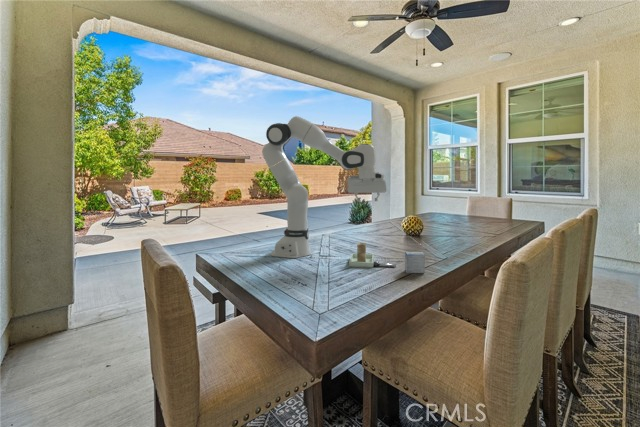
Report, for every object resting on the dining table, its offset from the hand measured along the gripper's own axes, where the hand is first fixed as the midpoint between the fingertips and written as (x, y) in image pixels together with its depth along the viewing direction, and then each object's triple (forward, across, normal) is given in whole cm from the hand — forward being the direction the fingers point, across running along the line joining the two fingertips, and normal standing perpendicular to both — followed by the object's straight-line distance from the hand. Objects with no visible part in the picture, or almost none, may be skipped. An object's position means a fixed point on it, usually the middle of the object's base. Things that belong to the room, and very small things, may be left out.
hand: (367, 201), depth 163 cm
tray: (+29, -2, -16) cm, 33 cm away
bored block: (+28, -2, -16) cm, 33 cm away
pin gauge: (+29, +9, -21) cm, 37 cm away
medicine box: (+29, +22, -27) cm, 46 cm away
